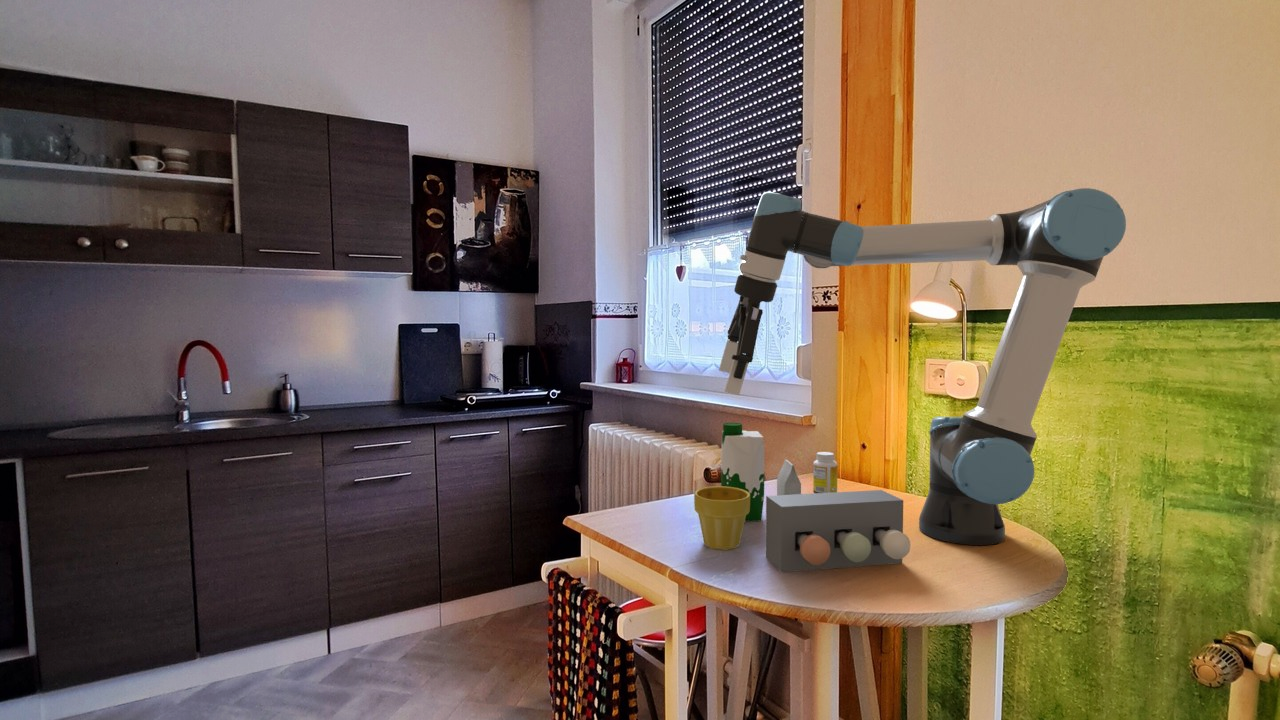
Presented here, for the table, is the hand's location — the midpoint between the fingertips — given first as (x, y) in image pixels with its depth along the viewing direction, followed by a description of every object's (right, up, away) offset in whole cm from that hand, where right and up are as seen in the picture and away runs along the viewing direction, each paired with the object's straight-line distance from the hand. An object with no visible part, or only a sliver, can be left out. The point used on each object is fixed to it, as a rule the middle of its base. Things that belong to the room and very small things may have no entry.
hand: (728, 382), depth 127 cm
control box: (+16, -31, -14) cm, 38 cm away
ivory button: (+24, -28, -19) cm, 42 cm away
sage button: (+17, -28, -20) cm, 39 cm away
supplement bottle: (+27, -29, +29) cm, 49 cm away
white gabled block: (+16, -29, +20) cm, 39 cm away
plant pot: (-2, -30, -6) cm, 31 cm away
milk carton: (+5, -30, +12) cm, 32 cm away
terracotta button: (+10, -28, -21) cm, 37 cm away
